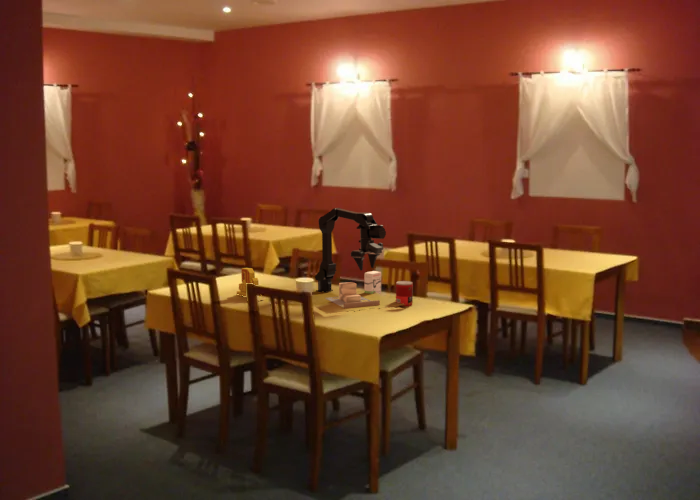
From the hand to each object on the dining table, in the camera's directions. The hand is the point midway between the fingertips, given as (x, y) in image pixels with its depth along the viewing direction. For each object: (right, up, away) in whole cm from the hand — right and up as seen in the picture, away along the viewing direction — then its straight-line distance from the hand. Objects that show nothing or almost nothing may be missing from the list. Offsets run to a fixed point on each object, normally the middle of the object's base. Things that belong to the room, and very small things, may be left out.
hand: (366, 269), depth 377 cm
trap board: (-9, -16, -10) cm, 21 cm away
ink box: (+3, -14, +9) cm, 17 cm away
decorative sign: (-59, -15, +3) cm, 61 cm away
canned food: (+18, -17, -15) cm, 29 cm away
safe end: (-4, -18, -21) cm, 28 cm away
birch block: (-8, -15, -12) cm, 21 cm away
